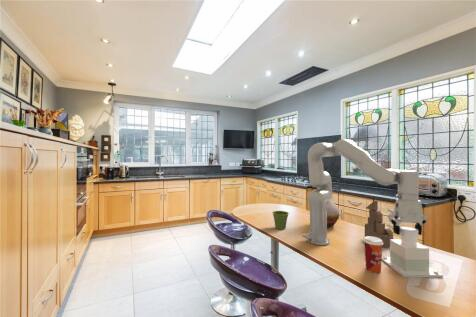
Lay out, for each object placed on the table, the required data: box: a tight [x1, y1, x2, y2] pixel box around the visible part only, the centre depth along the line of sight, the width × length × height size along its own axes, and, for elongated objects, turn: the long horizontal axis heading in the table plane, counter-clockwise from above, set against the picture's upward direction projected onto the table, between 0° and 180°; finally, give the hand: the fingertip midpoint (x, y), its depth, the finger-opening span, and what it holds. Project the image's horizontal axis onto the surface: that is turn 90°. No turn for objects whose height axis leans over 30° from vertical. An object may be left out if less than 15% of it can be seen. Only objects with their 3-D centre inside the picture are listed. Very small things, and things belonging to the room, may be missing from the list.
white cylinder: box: [399, 225, 419, 246], centre depth 98 cm, size 7×7×7 cm
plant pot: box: [272, 210, 290, 231], centre depth 154 cm, size 12×12×11 cm
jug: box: [325, 200, 340, 228], centre depth 158 cm, size 20×18×30 cm
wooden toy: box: [364, 200, 394, 248], centre depth 127 cm, size 15×7×25 cm, turn 16°
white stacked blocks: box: [381, 238, 444, 278], centre depth 98 cm, size 16×16×11 cm
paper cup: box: [363, 236, 383, 274], centre depth 96 cm, size 8×8×14 cm
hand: (407, 233), depth 98 cm, fingers open, 9 cm apart
